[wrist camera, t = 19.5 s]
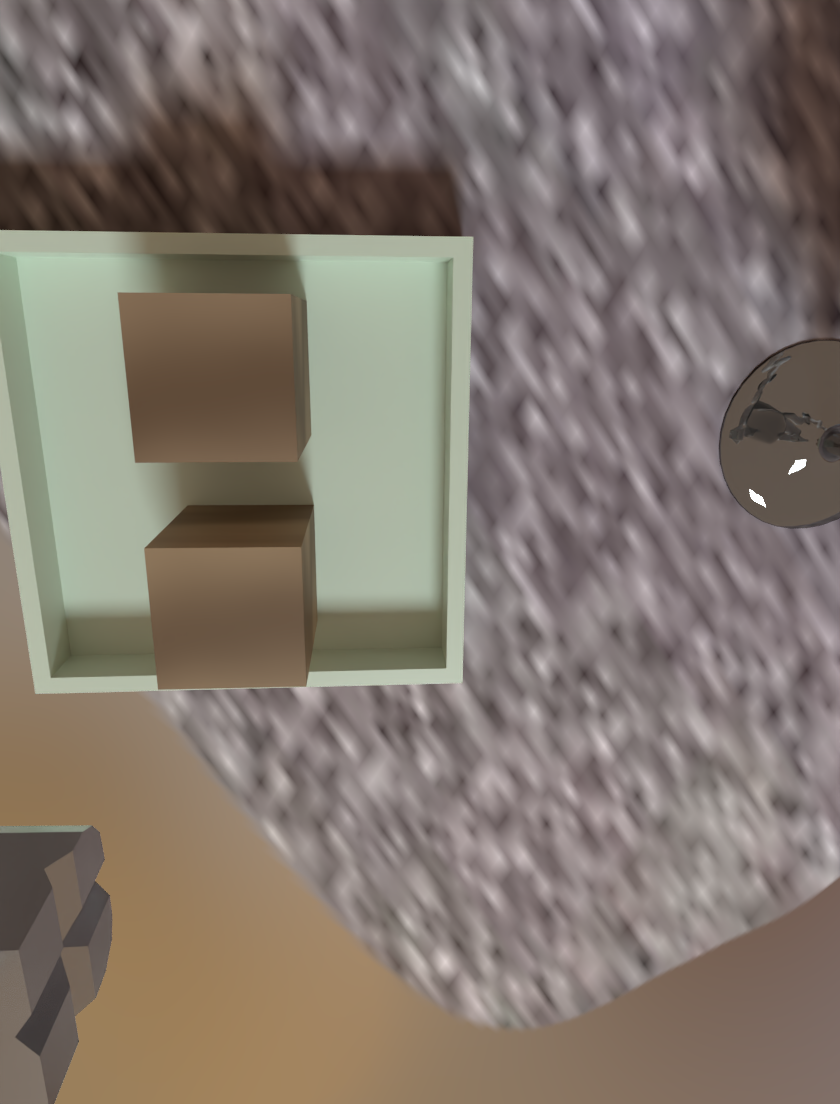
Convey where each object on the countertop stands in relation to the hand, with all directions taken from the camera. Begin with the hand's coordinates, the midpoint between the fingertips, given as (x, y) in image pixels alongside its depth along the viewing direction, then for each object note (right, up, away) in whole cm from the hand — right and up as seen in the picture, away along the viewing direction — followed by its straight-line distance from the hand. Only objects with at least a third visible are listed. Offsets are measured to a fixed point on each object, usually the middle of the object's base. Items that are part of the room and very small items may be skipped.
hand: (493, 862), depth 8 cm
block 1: (-7, +10, +18) cm, 21 cm away
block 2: (-7, +3, +20) cm, 21 cm away
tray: (-7, +6, +19) cm, 22 cm away
